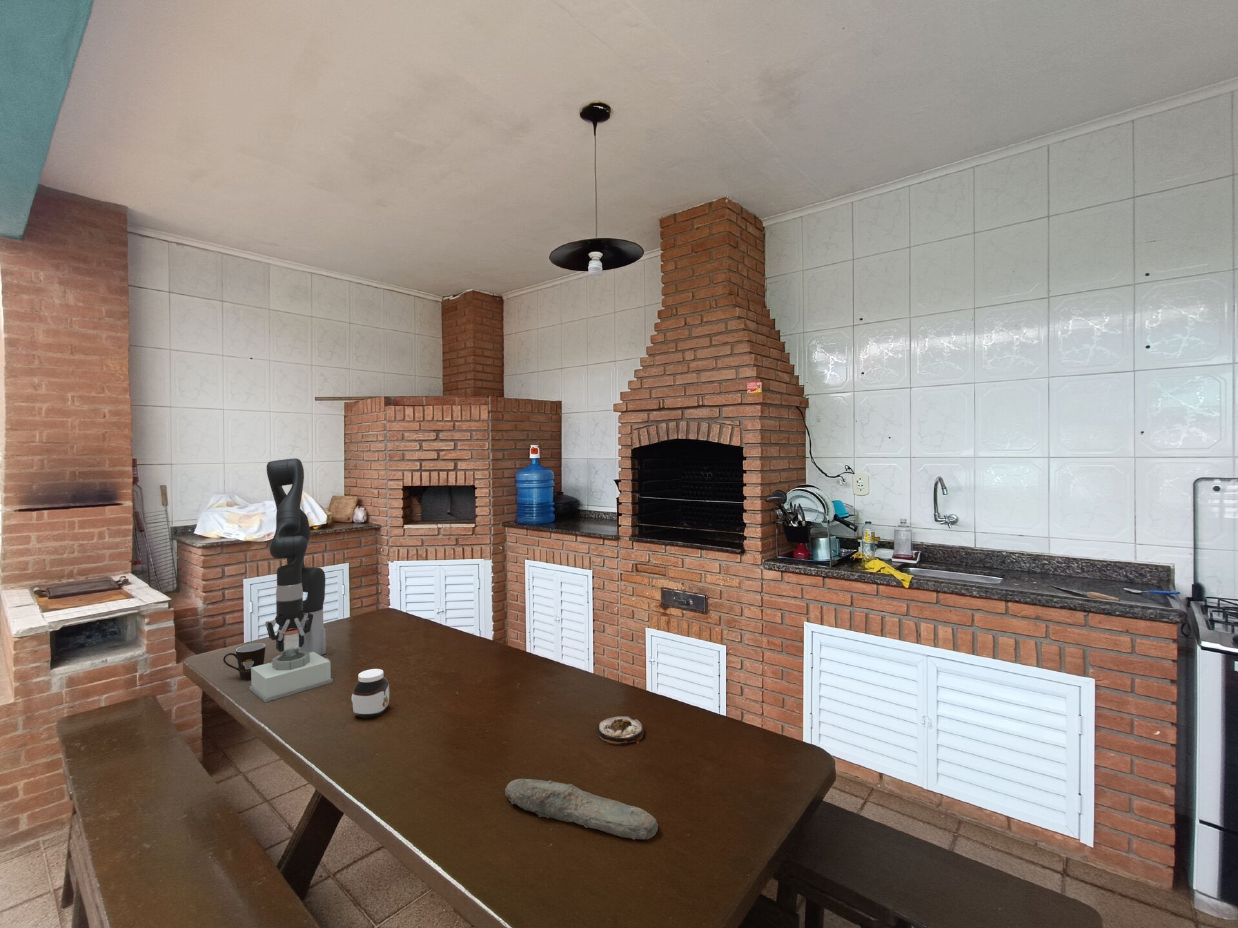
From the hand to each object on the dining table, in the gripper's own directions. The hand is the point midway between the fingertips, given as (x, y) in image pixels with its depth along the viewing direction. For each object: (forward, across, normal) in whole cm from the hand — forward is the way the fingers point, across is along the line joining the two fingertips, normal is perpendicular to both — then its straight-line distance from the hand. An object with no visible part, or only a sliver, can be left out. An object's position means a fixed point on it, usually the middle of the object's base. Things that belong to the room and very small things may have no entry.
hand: (290, 648), depth 186 cm
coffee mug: (+12, +7, -20) cm, 24 cm away
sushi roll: (+13, -47, +103) cm, 114 cm away
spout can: (+2, 0, 0) cm, 2 cm away
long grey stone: (+13, -16, +118) cm, 120 cm away
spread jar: (+13, -8, +37) cm, 40 cm away
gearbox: (+12, 0, 0) cm, 12 cm away
